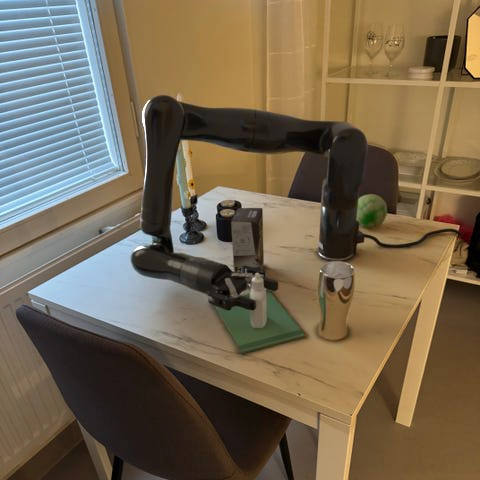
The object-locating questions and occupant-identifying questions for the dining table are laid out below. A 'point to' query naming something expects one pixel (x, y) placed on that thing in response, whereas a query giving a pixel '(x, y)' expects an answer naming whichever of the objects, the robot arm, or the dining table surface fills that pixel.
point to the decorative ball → (371, 211)
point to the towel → (272, 333)
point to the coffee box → (247, 238)
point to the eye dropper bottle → (258, 302)
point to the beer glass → (335, 298)
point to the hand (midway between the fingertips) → (266, 296)
